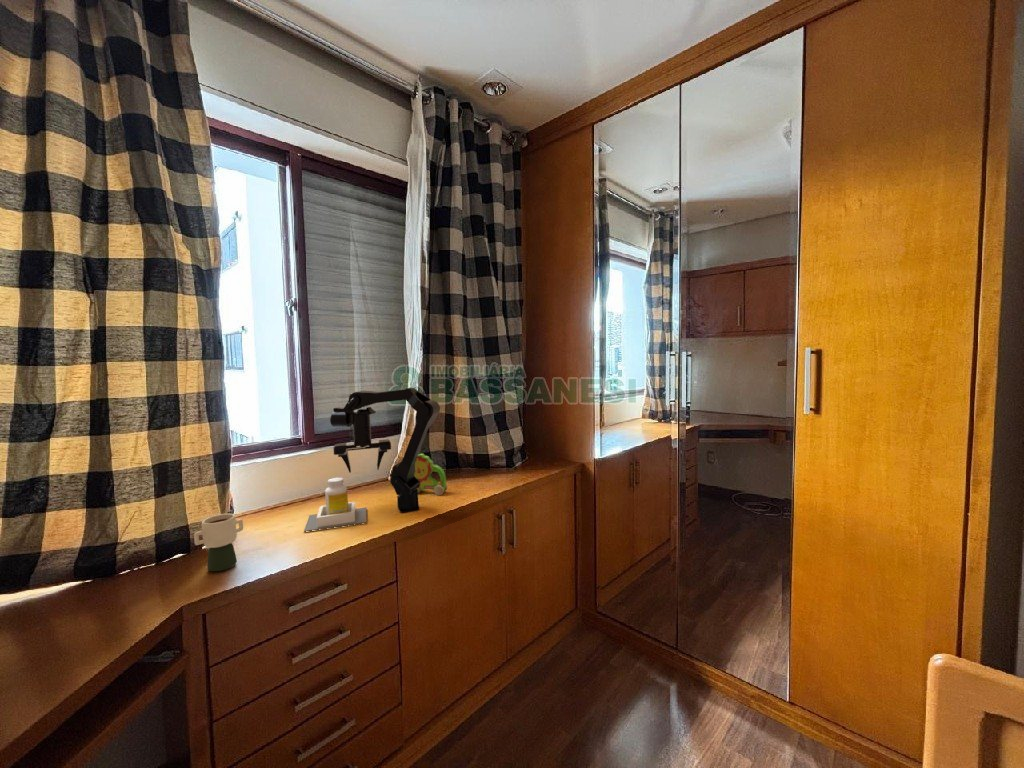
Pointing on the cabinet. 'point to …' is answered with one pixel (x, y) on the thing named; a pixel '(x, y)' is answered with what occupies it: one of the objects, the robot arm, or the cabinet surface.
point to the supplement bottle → (336, 497)
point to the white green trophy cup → (219, 540)
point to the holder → (336, 518)
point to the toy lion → (429, 475)
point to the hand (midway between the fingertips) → (364, 470)
